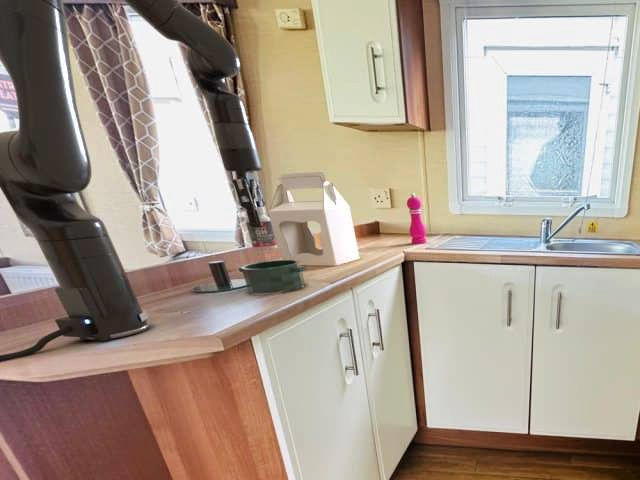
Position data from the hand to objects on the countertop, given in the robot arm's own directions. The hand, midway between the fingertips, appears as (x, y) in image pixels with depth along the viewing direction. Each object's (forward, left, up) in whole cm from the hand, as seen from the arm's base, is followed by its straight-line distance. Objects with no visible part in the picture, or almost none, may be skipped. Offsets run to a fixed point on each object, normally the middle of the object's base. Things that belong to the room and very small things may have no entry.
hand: (259, 225), depth 103 cm
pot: (0, 0, -16) cm, 16 cm away
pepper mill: (+86, 0, -16) cm, 88 cm away
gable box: (+39, +15, -16) cm, 45 cm away
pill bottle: (0, 0, -6) cm, 6 cm away
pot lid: (-1, +16, -15) cm, 22 cm away
